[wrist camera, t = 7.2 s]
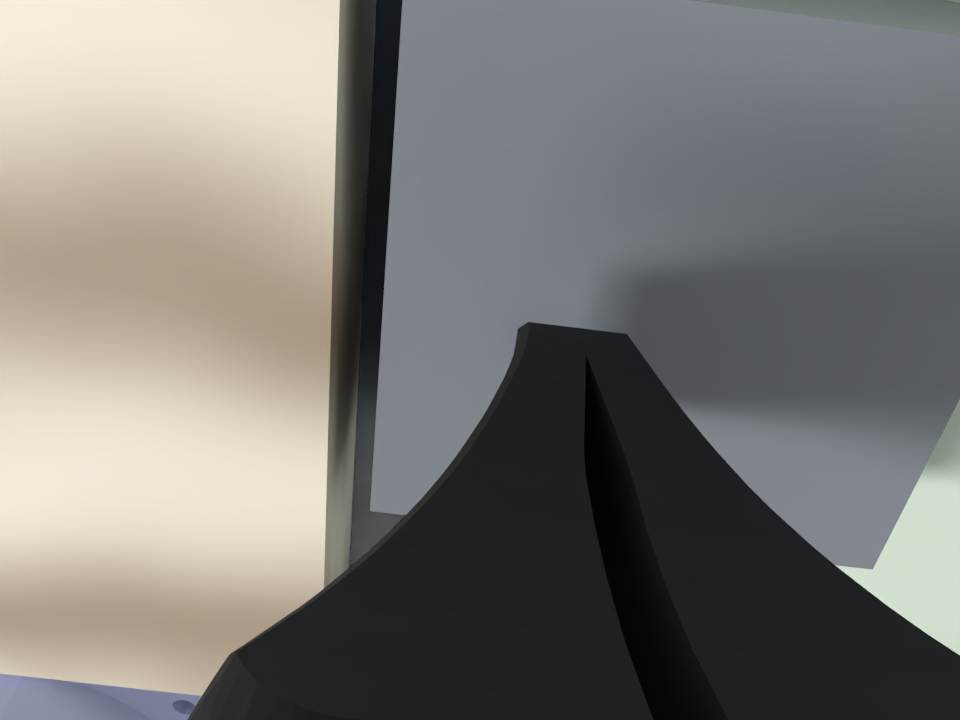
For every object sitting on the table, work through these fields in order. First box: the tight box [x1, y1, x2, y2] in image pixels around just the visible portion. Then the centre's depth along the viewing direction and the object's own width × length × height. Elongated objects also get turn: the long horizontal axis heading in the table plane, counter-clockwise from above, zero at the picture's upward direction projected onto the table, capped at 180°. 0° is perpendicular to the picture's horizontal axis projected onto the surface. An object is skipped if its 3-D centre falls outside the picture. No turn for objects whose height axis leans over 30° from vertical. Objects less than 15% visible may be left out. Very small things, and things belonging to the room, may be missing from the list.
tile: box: [370, 0, 960, 570], centre depth 13 cm, size 8×8×2 cm
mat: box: [835, 0, 960, 655], centre depth 14 cm, size 20×14×1 cm
